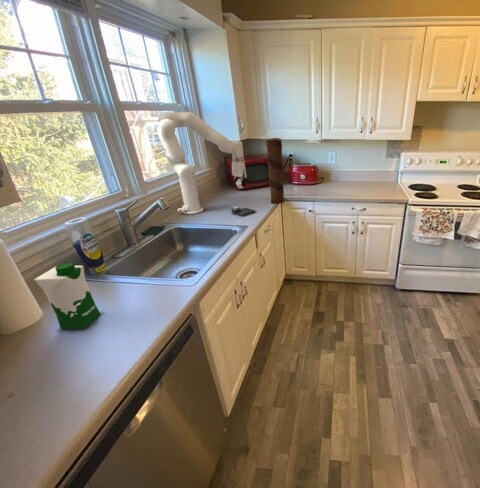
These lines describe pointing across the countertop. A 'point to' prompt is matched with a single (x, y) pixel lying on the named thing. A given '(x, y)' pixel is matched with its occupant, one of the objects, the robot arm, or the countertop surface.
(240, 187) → the white rounded lump
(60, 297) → the milk carton
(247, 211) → the scale
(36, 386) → the countertop surface
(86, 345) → the countertop surface
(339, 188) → the countertop surface
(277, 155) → the wafer roll
